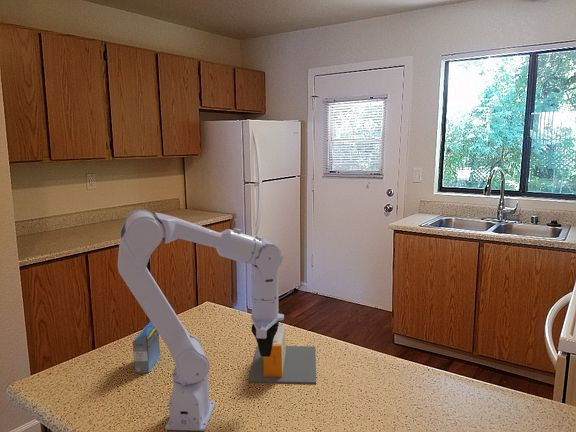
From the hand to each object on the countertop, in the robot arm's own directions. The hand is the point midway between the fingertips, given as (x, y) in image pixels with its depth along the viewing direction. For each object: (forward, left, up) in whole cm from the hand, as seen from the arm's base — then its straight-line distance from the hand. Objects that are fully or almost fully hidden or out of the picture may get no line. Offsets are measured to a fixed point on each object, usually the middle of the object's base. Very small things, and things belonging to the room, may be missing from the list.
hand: (265, 354), depth 95 cm
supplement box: (+7, -1, -5) cm, 9 cm away
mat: (+14, -3, -10) cm, 18 cm away
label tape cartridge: (+13, +32, -10) cm, 36 cm away
